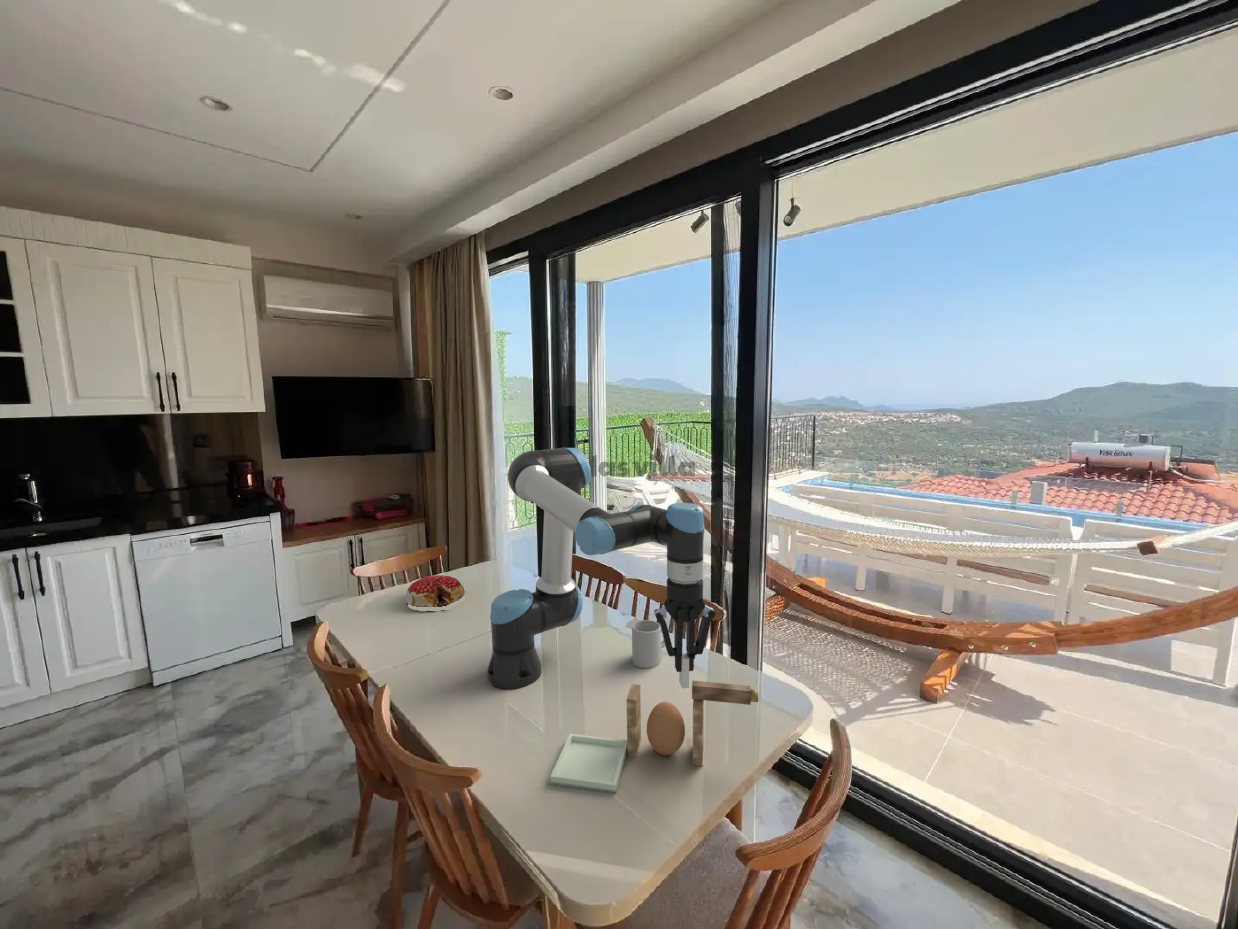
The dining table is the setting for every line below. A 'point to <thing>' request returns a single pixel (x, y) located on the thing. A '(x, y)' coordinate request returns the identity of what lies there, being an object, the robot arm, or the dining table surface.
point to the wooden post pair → (635, 725)
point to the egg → (665, 728)
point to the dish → (590, 763)
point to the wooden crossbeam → (724, 692)
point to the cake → (434, 591)
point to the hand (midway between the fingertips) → (684, 684)
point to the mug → (646, 644)
